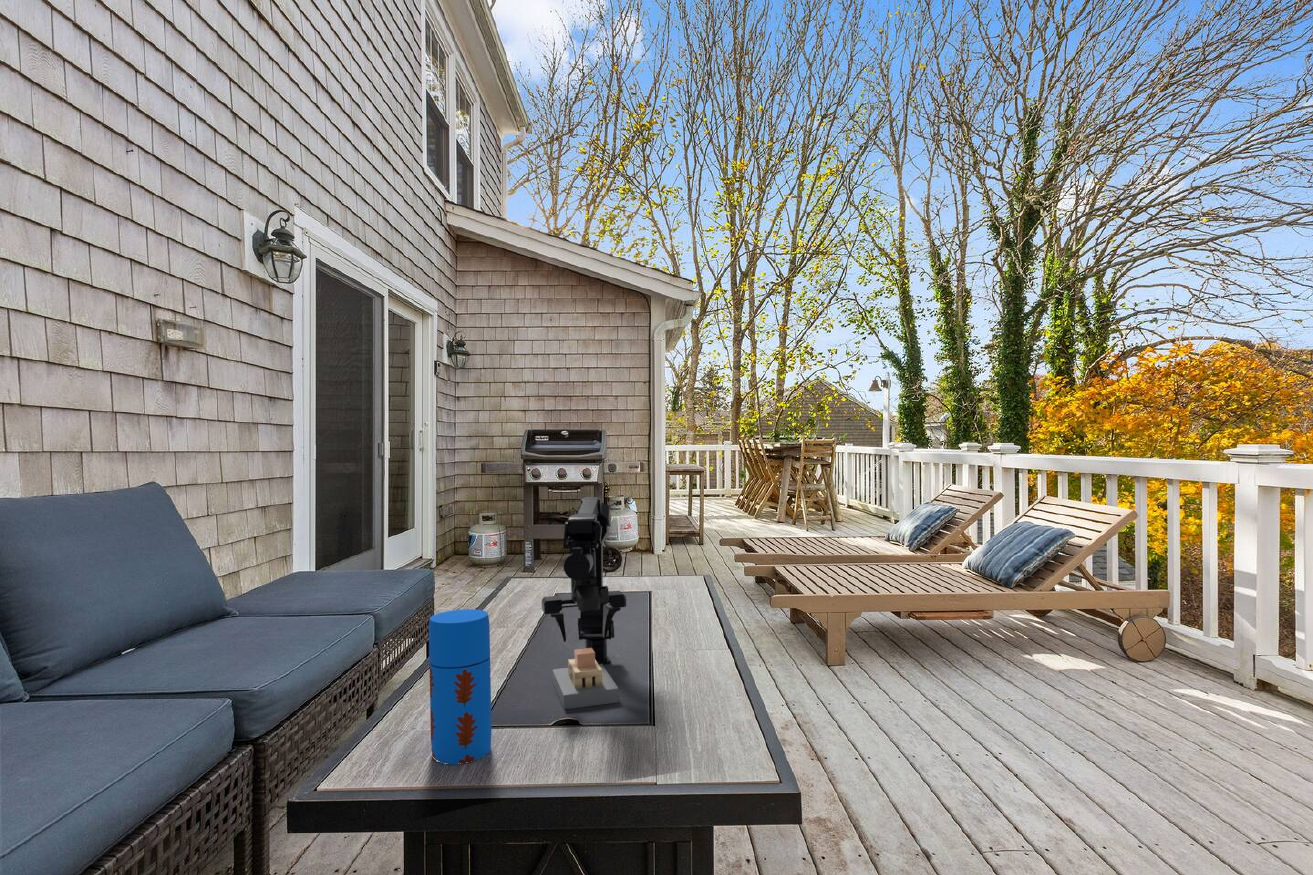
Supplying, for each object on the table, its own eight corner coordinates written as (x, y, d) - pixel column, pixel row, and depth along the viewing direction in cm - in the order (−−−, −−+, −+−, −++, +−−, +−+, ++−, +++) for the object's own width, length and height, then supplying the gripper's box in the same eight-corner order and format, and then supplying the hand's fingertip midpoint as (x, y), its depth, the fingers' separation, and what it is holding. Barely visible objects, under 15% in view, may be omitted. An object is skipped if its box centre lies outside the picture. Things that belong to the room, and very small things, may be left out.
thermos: (436, 770, 118) (433, 626, 118) (426, 747, 128) (424, 613, 128) (498, 756, 123) (495, 618, 123) (484, 734, 133) (482, 606, 133)
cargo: (574, 662, 155) (574, 649, 156) (591, 660, 157) (591, 647, 157) (577, 668, 152) (577, 654, 152) (595, 666, 153) (594, 652, 153)
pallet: (568, 674, 158) (568, 659, 158) (593, 671, 160) (593, 656, 160) (575, 688, 148) (575, 672, 148) (602, 685, 150) (602, 669, 150)
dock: (552, 682, 162) (552, 669, 162) (602, 676, 165) (601, 663, 165) (563, 709, 145) (563, 695, 145) (618, 702, 148) (618, 688, 148)
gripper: (546, 581, 145) (548, 654, 145) (631, 574, 150) (633, 645, 150) (540, 572, 156) (542, 640, 156) (619, 566, 161) (621, 632, 161)
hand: (584, 639), depth 155 cm, fingers open, 9 cm apart
